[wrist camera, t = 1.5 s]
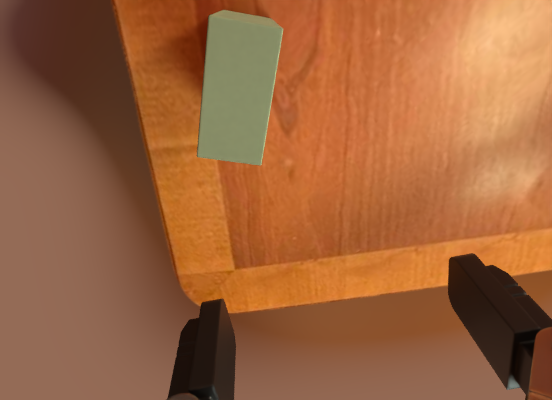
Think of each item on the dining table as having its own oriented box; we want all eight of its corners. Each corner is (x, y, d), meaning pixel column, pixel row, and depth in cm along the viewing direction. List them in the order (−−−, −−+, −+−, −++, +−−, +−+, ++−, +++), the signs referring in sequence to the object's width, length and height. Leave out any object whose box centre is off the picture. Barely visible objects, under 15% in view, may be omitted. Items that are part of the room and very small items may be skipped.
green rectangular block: (213, 107, 31) (196, 157, 21) (222, 9, 28) (208, 14, 18) (257, 114, 31) (261, 166, 22) (271, 18, 28) (283, 28, 19)
